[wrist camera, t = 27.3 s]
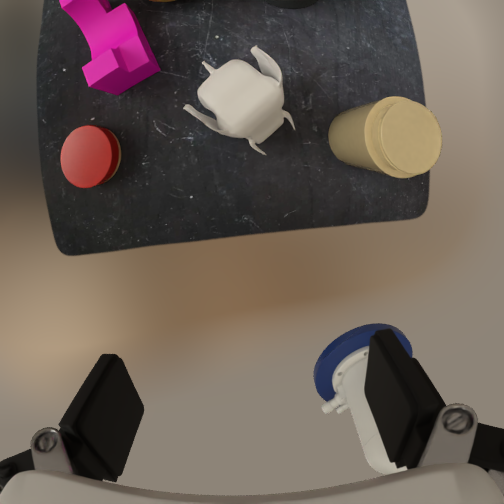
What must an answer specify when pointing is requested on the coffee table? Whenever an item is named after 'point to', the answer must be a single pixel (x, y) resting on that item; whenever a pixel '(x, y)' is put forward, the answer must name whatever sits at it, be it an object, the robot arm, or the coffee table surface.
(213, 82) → the elephant figurine
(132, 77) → the toy block
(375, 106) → the jar
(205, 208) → the coffee table surface
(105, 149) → the lid
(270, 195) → the coffee table surface
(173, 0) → the yellow bowl
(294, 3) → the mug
